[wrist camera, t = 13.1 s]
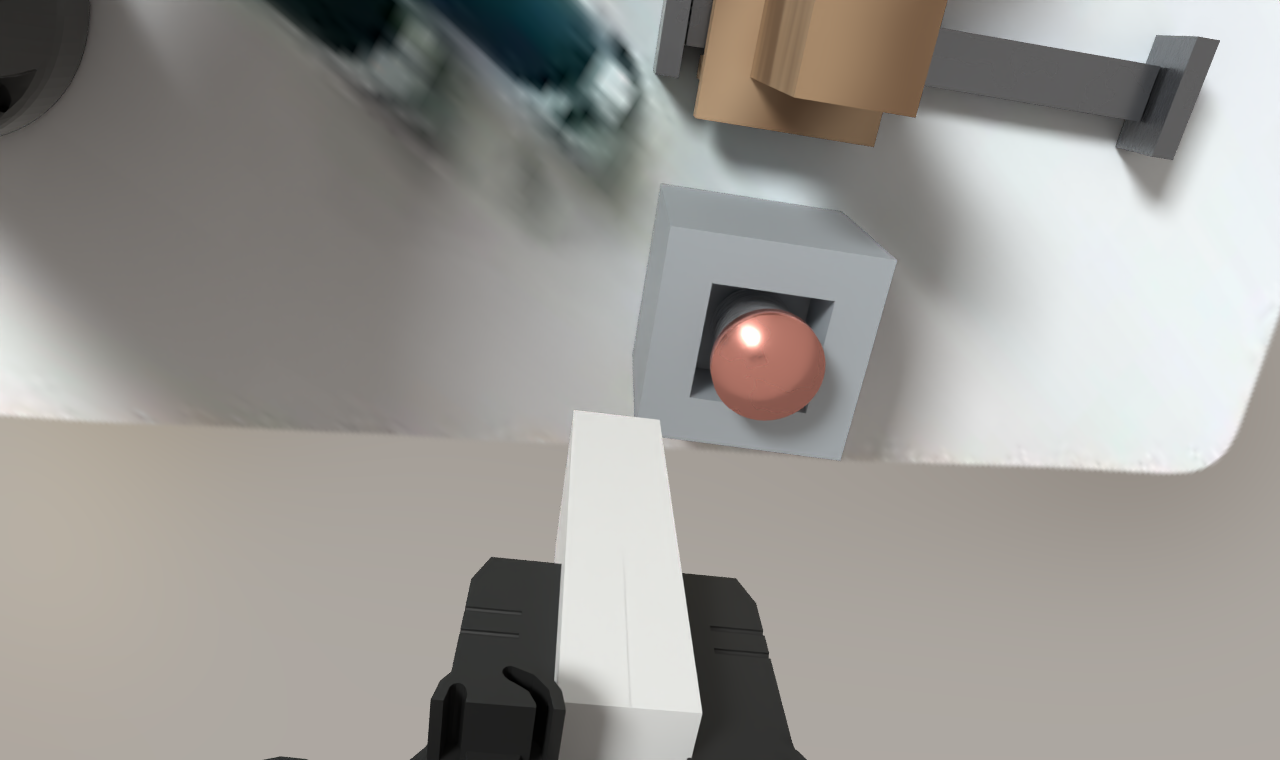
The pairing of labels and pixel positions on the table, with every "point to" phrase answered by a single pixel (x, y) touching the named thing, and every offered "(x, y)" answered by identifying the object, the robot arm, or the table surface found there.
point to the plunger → (763, 356)
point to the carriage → (816, 64)
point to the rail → (1029, 75)
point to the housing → (762, 260)
